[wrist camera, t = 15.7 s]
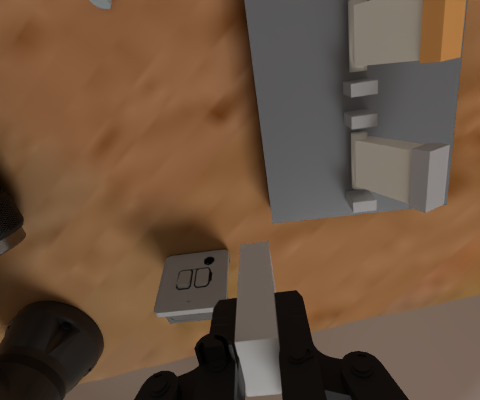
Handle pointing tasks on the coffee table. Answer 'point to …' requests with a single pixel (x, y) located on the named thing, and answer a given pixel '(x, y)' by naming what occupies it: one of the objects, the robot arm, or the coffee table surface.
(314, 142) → the breaker panel
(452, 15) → the breaker
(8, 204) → the muzzle brake
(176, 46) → the coffee table surface
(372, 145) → the breaker
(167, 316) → the electrical switch
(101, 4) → the reed diffuser
